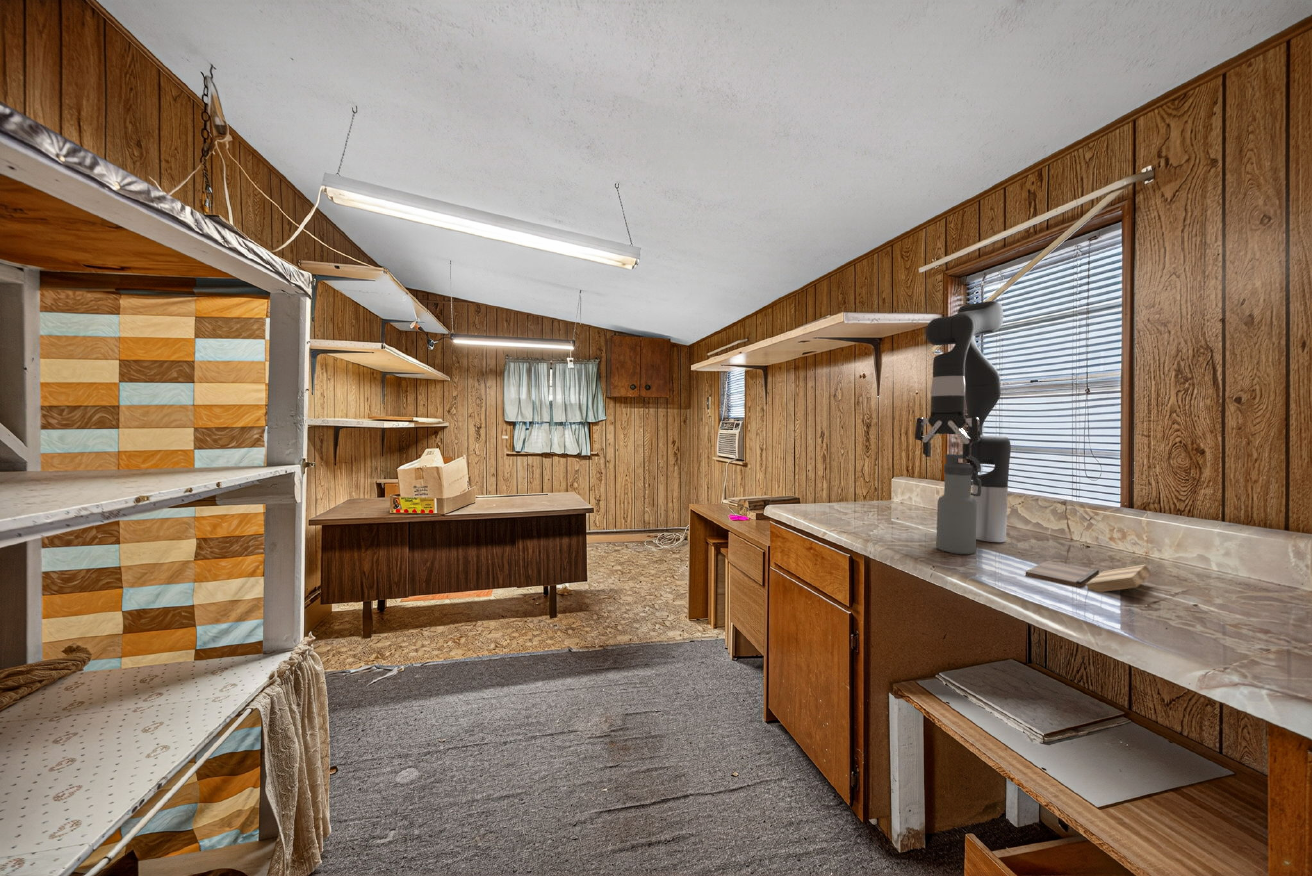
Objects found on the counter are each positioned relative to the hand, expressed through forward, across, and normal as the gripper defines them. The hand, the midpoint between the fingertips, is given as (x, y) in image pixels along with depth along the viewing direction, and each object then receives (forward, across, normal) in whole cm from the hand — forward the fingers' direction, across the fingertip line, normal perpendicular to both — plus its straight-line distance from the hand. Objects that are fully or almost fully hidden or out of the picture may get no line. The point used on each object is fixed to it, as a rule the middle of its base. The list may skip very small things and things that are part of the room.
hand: (946, 457), depth 124 cm
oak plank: (+26, -33, -7) cm, 43 cm away
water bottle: (+28, +2, -20) cm, 34 cm away
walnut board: (+28, -23, -8) cm, 37 cm away
